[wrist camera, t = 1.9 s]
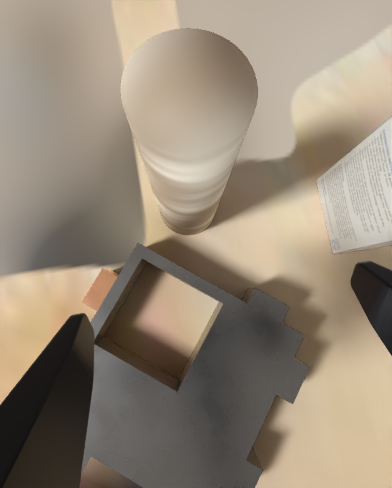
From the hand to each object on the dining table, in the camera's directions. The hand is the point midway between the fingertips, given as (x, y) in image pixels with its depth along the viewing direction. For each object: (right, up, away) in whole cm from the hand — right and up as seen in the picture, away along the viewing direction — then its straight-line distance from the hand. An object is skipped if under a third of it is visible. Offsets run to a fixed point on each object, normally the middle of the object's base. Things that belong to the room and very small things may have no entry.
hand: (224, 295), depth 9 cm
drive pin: (-2, +5, +14) cm, 14 cm away
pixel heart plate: (-3, -7, +12) cm, 14 cm away
